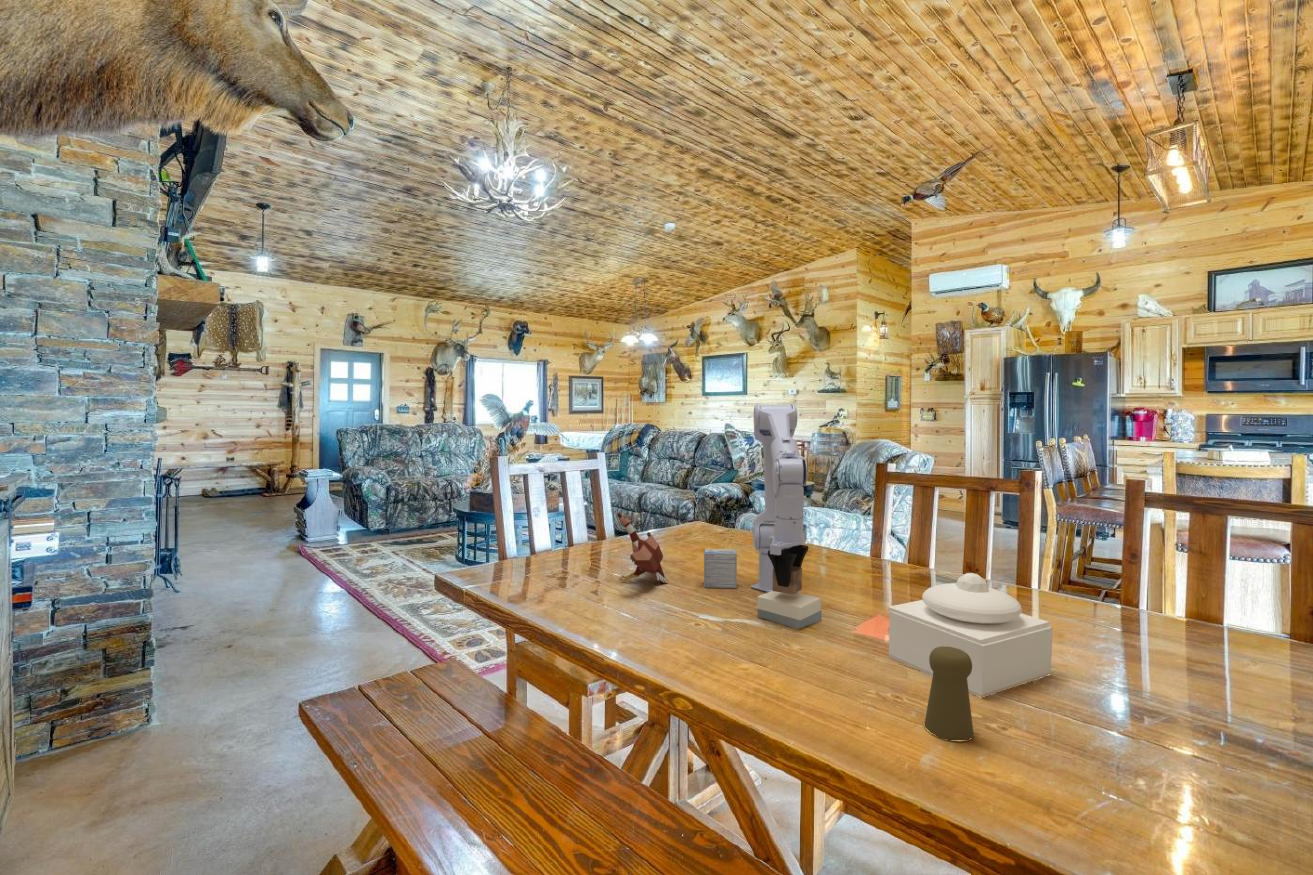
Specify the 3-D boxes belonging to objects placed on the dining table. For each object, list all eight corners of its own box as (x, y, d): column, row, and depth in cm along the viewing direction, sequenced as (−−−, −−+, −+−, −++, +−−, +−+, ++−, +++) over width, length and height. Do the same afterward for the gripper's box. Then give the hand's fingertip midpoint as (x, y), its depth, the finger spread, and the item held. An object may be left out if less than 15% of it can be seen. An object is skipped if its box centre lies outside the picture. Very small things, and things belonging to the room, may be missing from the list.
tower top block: (778, 599, 133) (778, 588, 133) (820, 610, 126) (820, 598, 126) (757, 608, 127) (757, 596, 127) (800, 620, 120) (800, 607, 120)
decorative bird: (607, 552, 169) (628, 503, 168) (668, 581, 167) (690, 531, 166) (580, 581, 141) (605, 522, 140) (653, 616, 139) (679, 556, 138)
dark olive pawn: (915, 719, 86) (917, 642, 85) (957, 718, 86) (959, 640, 86) (939, 743, 80) (941, 659, 79) (983, 741, 80) (986, 658, 80)
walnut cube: (780, 585, 130) (781, 564, 130) (801, 589, 128) (801, 567, 127) (772, 590, 126) (772, 569, 126) (793, 594, 124) (793, 572, 124)
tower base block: (781, 610, 134) (781, 599, 134) (821, 622, 126) (821, 610, 126) (757, 618, 129) (757, 606, 128) (797, 631, 121) (797, 619, 121)
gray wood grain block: (736, 583, 152) (736, 549, 152) (736, 589, 148) (737, 553, 147) (704, 582, 153) (704, 548, 153) (703, 588, 149) (703, 552, 148)
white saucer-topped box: (981, 699, 92) (984, 594, 92) (886, 656, 108) (888, 566, 108) (1051, 676, 100) (1054, 579, 100) (953, 639, 116) (955, 555, 116)
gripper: (783, 510, 134) (782, 572, 135) (755, 520, 122) (755, 588, 123) (815, 513, 130) (814, 577, 131) (790, 524, 118) (789, 594, 119)
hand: (787, 583), depth 127 cm, fingers closed on walnut cube, 4 cm apart
